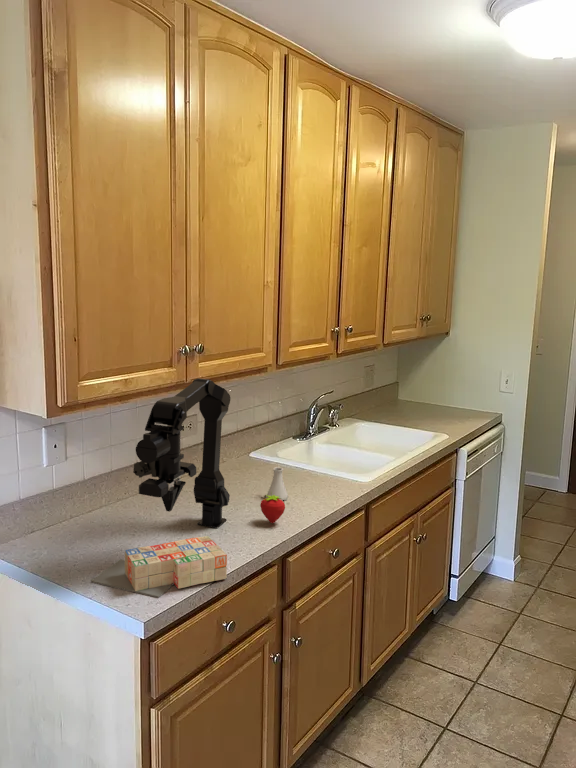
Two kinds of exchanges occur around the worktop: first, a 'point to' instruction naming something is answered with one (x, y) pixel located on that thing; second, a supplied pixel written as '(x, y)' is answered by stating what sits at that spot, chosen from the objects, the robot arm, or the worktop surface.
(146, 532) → the worktop surface
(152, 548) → the stack of blocks
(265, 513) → the strawberry
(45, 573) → the worktop surface
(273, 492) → the flask
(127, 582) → the mat
